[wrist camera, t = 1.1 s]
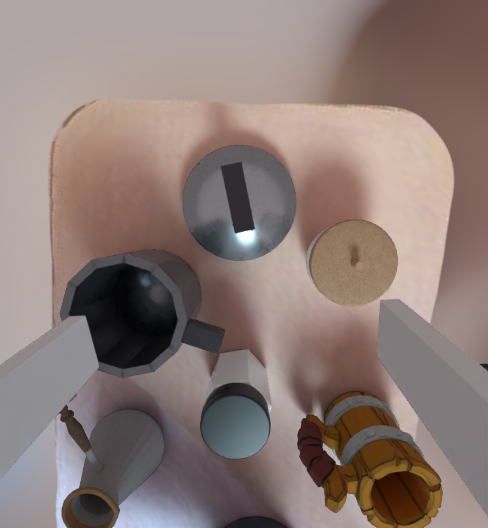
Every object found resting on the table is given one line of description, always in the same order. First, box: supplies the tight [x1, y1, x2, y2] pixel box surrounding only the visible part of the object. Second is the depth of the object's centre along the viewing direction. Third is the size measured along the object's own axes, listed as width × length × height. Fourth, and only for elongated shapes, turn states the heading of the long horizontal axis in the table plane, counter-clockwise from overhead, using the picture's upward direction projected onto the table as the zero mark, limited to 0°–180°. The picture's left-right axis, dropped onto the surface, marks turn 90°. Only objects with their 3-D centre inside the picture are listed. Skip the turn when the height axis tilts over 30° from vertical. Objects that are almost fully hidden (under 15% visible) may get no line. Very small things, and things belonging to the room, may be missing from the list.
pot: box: [60, 249, 225, 378], centre depth 36 cm, size 14×18×11 cm
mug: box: [297, 392, 443, 528], centre depth 36 cm, size 11×16×15 cm, turn 83°
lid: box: [183, 145, 296, 261], centre depth 36 cm, size 16×16×8 cm
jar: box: [200, 349, 272, 459], centre depth 36 cm, size 9×8×12 cm
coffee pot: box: [59, 394, 165, 528], centre depth 36 cm, size 21×12×15 cm, turn 4°
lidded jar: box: [306, 220, 398, 306], centre depth 36 cm, size 11×11×9 cm
